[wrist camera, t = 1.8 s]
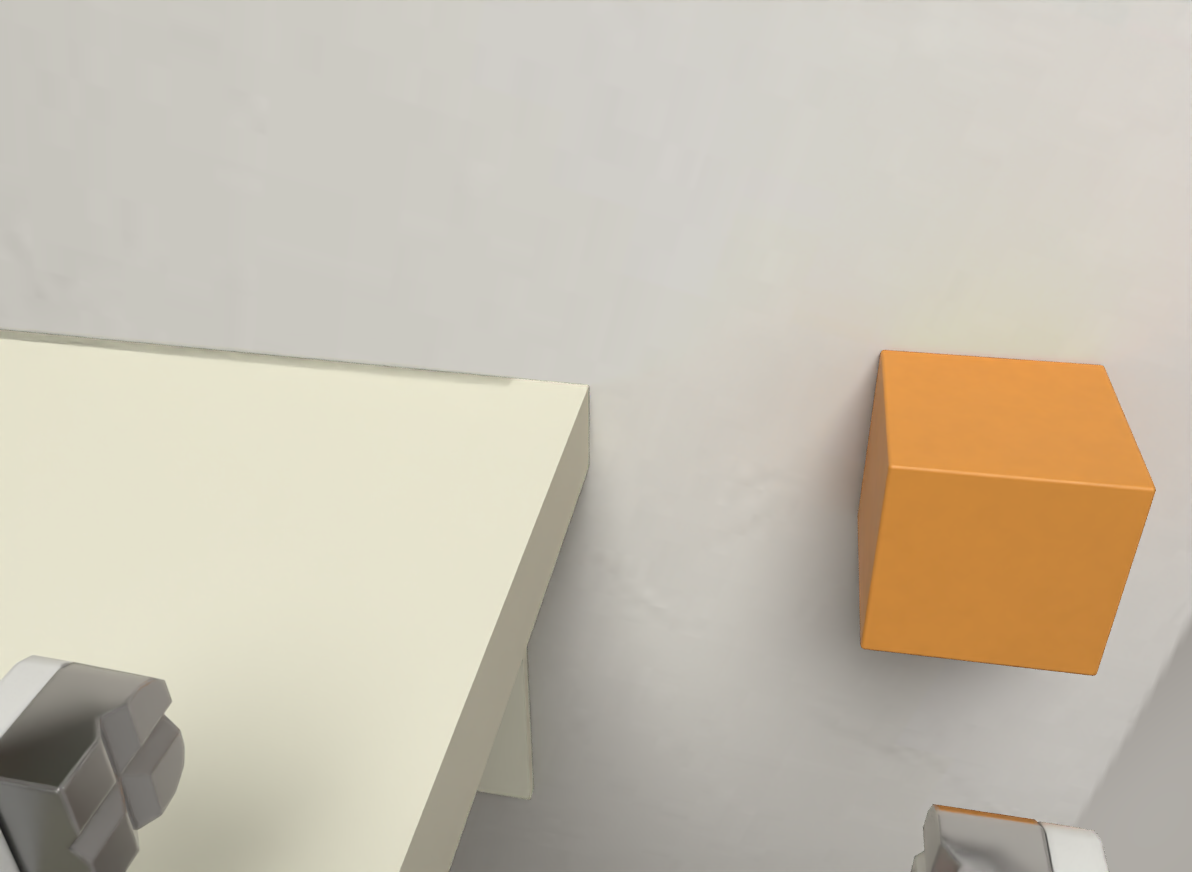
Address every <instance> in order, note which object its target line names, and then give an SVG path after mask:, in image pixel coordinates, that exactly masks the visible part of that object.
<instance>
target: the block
mask: <svg viewBox="0 0 1192 872" xmlns="http://www.w3.org/2000/svg"><path fill="white" fill-rule="evenodd" d="M1155 491H1156V489H1155V486H1154V484H1153V481H1152V479H1151V477H1150V474H1149V472H1148V469H1147V467H1146V465H1145V462H1144V460H1143V458H1142V455H1141V453H1140V451H1139V448H1138V446H1137V444H1136V441H1135V439H1134V436H1133V434H1132V432H1131V429H1130V427H1129V425H1128V422H1127V420H1126V418H1125V415H1124V413H1123V410H1122V408H1121V406H1120V403H1119V401H1118V399H1117V396H1116V394H1115V392H1114V389H1113V387H1112V384H1111V382H1110V380H1109V377H1108V375H1107V373H1106V370H1105V368H1104V366H1101V365H1091V364H1076V363H1062V362H1048V361H1033V360H1019V359H1005V358H990V357H976V356H962V355H947V354H933V353H918V352H904V351H890V350H883V351H882V352H881V353H880V360H879V367H878V374H877V381H876V388H875V395H874V403H873V410H872V417H871V424H870V431H869V438H868V446H867V453H866V460H865V467H864V474H863V481H862V488H861V496H860V503H859V510H858V558H859V604H860V645H861V647H862V648H863V649H868V650H877V651H885V652H894V653H902V654H911V655H920V656H928V657H937V658H945V659H954V660H963V661H971V662H980V663H988V664H997V665H1006V666H1014V667H1023V668H1031V669H1040V670H1049V671H1057V672H1066V673H1074V674H1083V675H1092V676H1093V675H1096V674H1097V671H1098V668H1099V665H1100V662H1101V659H1102V655H1103V652H1104V649H1105V646H1106V643H1107V640H1108V637H1109V634H1110V631H1111V628H1112V624H1113V621H1114V618H1115V615H1116V612H1117V609H1118V606H1119V603H1120V600H1121V596H1122V593H1123V590H1124V587H1125V584H1126V581H1127V578H1128V575H1129V572H1130V569H1131V565H1132V562H1133V559H1134V556H1135V553H1136V550H1137V547H1138V544H1139V541H1140V538H1141V534H1142V531H1143V528H1144V525H1145V522H1146V519H1147V516H1148V513H1149V510H1150V507H1151V503H1152V500H1153V497H1154V494H1155Z"/></svg>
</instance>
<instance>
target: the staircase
mask: <svg viewBox="0 0 1192 872" xmlns="http://www.w3.org/2000/svg"><path fill="white" fill-rule="evenodd" d="M588 468H589V385H580V384H569V383H559V382H548V381H538V380H527V379H517V378H506V377H495V376H485V375H474V374H464V373H453V372H443V371H432V370H422V369H411V368H401V367H390V366H380V365H369V364H359V363H348V362H337V361H327V360H316V359H306V358H295V357H285V356H274V355H264V354H253V353H243V352H232V351H222V350H211V349H201V348H190V347H179V346H169V345H158V344H148V343H137V342H127V341H116V340H106V339H95V338H85V337H74V336H64V335H53V334H42V333H32V332H21V331H11V330H0V680H1V679H2V678H3V677H4V676H5V675H6V674H7V673H8V672H9V670H10V669H11V668H12V667H13V666H14V665H15V664H16V663H17V662H19V661H21V660H23V659H25V658H27V657H29V656H31V655H37V656H42V657H48V658H54V659H59V660H65V661H71V662H77V663H82V664H87V665H92V666H97V667H102V668H107V669H113V670H118V671H123V672H128V673H133V674H138V675H143V676H149V677H154V678H158V679H162V680H165V682H166V684H167V687H168V690H169V693H170V696H171V699H172V703H171V704H170V706H169V707H168V709H167V710H166V712H165V713H164V714H165V715H166V716H167V717H168V718H169V719H170V720H171V721H172V722H173V723H174V724H175V725H176V726H177V727H178V728H179V729H180V730H181V733H182V737H183V741H184V745H185V757H184V768H183V771H182V775H181V778H180V781H179V784H178V787H177V790H176V793H175V795H174V796H173V798H172V800H171V801H170V803H169V804H168V806H167V808H166V809H165V811H164V813H163V814H162V815H161V816H160V817H158V818H157V819H155V820H153V821H152V822H150V823H148V824H147V825H145V826H144V827H142V828H140V829H139V830H138V839H139V849H140V851H139V852H138V854H137V855H136V857H135V858H134V860H133V862H132V863H131V865H130V866H129V868H128V869H127V871H126V872H449V870H450V867H451V864H452V861H453V858H454V855H455V853H456V850H457V847H458V844H459V841H460V838H461V835H462V832H463V829H464V827H465V824H466V821H467V818H468V815H469V812H470V809H471V806H472V803H473V800H474V798H475V795H476V792H477V791H478V792H484V793H491V794H497V795H503V796H510V797H516V798H522V799H528V800H530V799H531V796H532V792H533V789H534V782H533V762H532V742H531V722H530V702H529V682H528V662H527V644H528V641H529V639H530V636H531V633H532V630H533V627H534V624H535V621H536V618H537V615H538V613H539V610H540V607H541V604H542V601H543V598H544V595H545V592H546V589H547V587H548V584H549V581H550V578H551V575H552V572H553V569H554V566H555V563H556V561H557V558H558V555H559V552H560V549H561V546H562V543H563V540H564V537H565V535H566V532H567V529H568V526H569V523H570V520H571V517H572V514H573V511H574V508H575V506H576V503H577V500H578V497H579V494H580V491H581V488H582V485H583V482H584V480H585V477H586V474H587V471H588Z"/></svg>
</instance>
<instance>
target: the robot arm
mask: <svg viewBox="0 0 1192 872" xmlns="http://www.w3.org/2000/svg"><path fill="white" fill-rule="evenodd" d="M171 703H172V699H171V696H170V693H169V690H168V687H167V684H166V682H165V680H162V679H158V678H154V677H149V676H143V675H138V674H133V673H128V672H123V671H118V670H113V669H107V668H102V667H97V666H92V665H87V664H82V663H77V662H71V661H65V660H59V659H54V658H48V657H42V656H37V655H31V656H29V657H27V658H25V659H23V660H21V661H19V662H17V663H16V664H15V665H14V666H13V667H12V668H11V669H10V670H9V672H8V673H7V674H6V675H5V676H4V677H3V678H2V679H1V680H0V872H126V871H127V869H128V868H129V866H130V865H131V863H132V862H133V860H134V858H135V857H136V855H137V854H138V852H139V851H140V849H139V839H138V830H139V829H140V828H142V827H144V826H145V825H147V824H148V823H150V822H152V821H153V820H155V819H157V818H158V817H160V816H161V815H162V814H163V813H164V811H165V809H166V808H167V806H168V804H169V803H170V801H171V800H172V798H173V796H174V795H175V793H176V790H177V787H178V784H179V781H180V778H181V775H182V771H183V768H184V757H185V745H184V741H183V737H182V733H181V730H180V729H179V728H178V727H177V726H176V725H175V724H174V723H173V722H172V721H171V720H170V719H169V718H168V717H167V716H166V715H165V714H164V713H165V712H166V710H167V709H168V707H169V706H170V704H171ZM923 838H924V851H923V852H921V853H920V854H918V855H916V856H915V857H914V861H913V865H912V869H911V872H1109V868H1108V864H1107V860H1106V856H1105V852H1104V848H1103V844H1102V841H1101V839H1100V838H1099V836H1098V835H1097V833H1096V832H1095V831H1094V830H1088V829H1082V828H1076V827H1070V826H1064V825H1058V824H1052V823H1046V822H1037V821H1036V820H1034V819H1028V818H1021V817H1015V816H1008V815H1001V814H995V813H988V812H982V811H975V810H968V809H962V808H955V807H948V806H942V805H935V804H933V805H932V806H931V808H930V809H929V810H928V813H927V816H926V819H925V822H924V826H923Z"/></svg>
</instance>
